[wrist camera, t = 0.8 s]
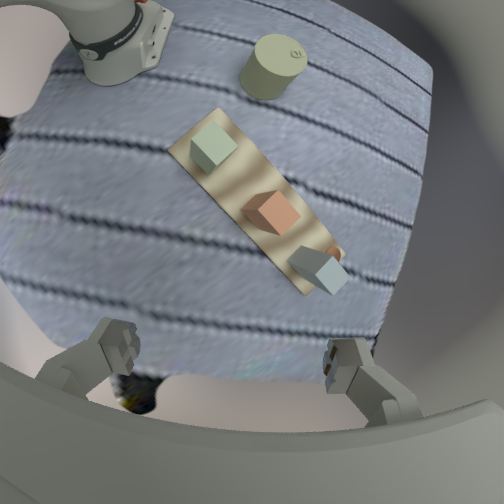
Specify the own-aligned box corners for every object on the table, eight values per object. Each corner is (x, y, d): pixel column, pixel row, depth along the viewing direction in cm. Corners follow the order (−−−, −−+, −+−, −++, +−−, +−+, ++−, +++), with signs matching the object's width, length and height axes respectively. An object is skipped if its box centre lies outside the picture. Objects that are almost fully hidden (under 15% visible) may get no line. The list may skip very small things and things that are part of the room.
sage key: (189, 155, 45) (191, 138, 34) (206, 140, 46) (213, 120, 34) (208, 176, 47) (216, 165, 35) (225, 160, 47) (238, 146, 36)
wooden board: (167, 151, 46) (167, 149, 44) (217, 109, 47) (218, 106, 45) (302, 294, 56) (306, 297, 55) (341, 252, 57) (346, 254, 55)
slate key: (286, 260, 52) (315, 274, 41) (301, 245, 53) (332, 255, 41) (302, 278, 54) (333, 295, 42) (316, 263, 54) (349, 277, 43)
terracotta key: (240, 209, 49) (257, 209, 37) (256, 193, 49) (278, 189, 38) (259, 229, 50) (281, 236, 39) (274, 214, 51) (301, 216, 39)
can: (289, 98, 50) (315, 75, 38) (245, 102, 48) (262, 76, 36) (278, 61, 48) (300, 32, 36) (235, 63, 46) (249, 32, 34)
